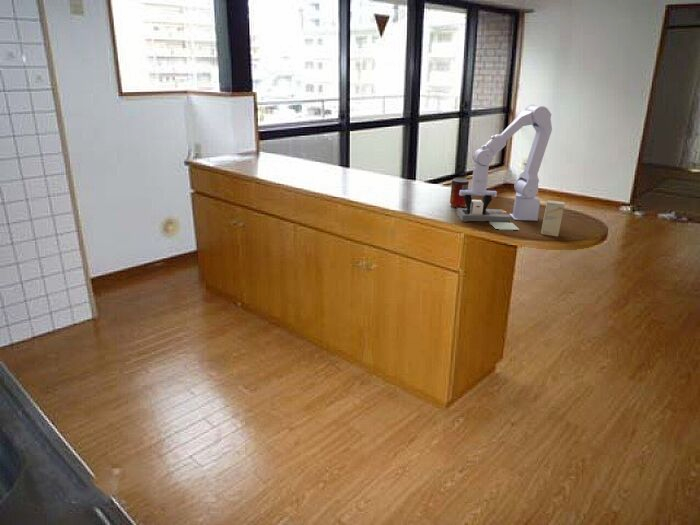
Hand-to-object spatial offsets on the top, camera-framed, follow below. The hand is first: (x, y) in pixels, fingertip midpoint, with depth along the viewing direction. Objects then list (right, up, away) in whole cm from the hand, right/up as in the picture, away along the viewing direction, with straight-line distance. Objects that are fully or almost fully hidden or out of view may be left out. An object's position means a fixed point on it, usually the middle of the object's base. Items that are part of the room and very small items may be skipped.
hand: (475, 213), depth 206 cm
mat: (+8, -6, -10) cm, 14 cm away
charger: (0, -2, +1) cm, 2 cm away
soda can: (-4, +5, +18) cm, 18 cm away
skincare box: (+23, -9, -17) cm, 30 cm away
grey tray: (+3, -2, +1) cm, 4 cm away
